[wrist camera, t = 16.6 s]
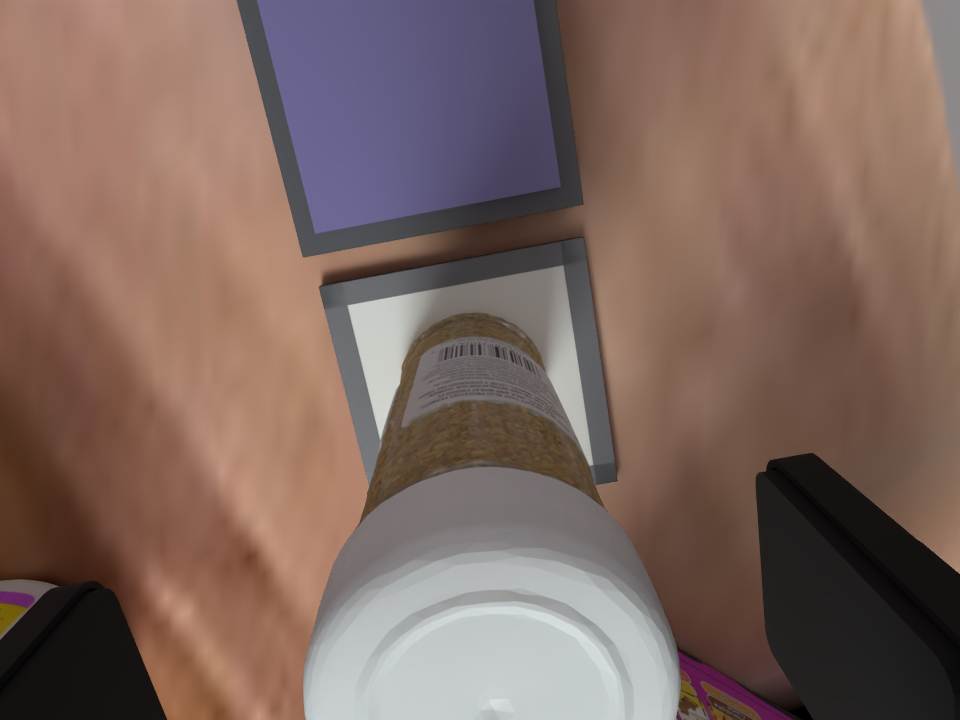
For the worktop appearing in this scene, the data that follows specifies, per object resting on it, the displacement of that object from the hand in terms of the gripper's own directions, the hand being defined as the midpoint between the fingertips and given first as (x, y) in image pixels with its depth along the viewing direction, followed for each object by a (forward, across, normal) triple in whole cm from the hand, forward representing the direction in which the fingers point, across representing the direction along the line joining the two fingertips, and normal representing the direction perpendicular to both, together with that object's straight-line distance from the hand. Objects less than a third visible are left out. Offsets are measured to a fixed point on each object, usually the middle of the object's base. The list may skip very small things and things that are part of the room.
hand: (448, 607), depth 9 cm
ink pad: (+12, 0, -8) cm, 15 cm away
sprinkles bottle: (+12, 0, +1) cm, 12 cm away
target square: (+12, 0, +1) cm, 12 cm away
